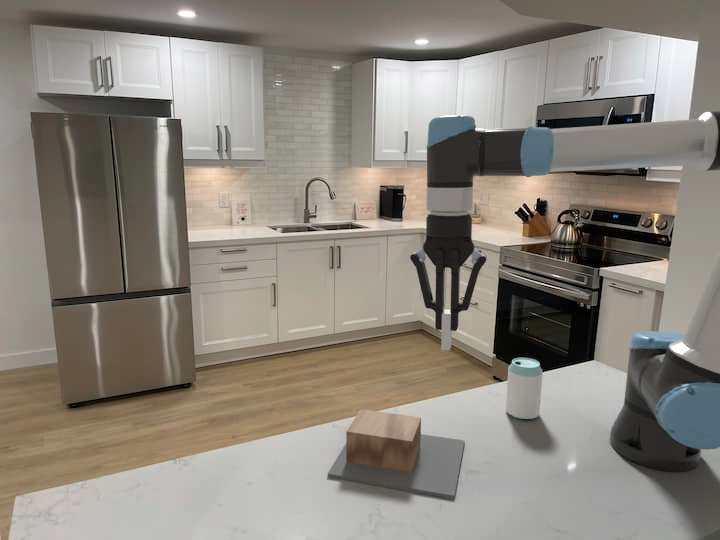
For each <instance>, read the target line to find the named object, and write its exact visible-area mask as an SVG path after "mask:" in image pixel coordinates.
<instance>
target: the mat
mask: <svg viewBox="0 0 720 540" xmlns="http://www.w3.org/2000/svg"><path fill="white" fill-rule="evenodd" d="M465 444H466V443H465V440H464V439H456V438H452V437H451V438H450V437H444V436H443V437H442V436H437V435H429V434H423V433H421V440H420V449H419V452H418V455H417V458H416V461H415V464H414V466H413V469H412V472H406V471H400V470H394V469H388V468H382V467H376V466H370V465H364V464H358V463H352V462H347V459H346V443H345V444H344V445H343V447H342V449H341V451H340V452H339V454H338V456H337V457H336V459H335V460H334V461H333V464H332V466H331V467H330V469H329V470H328V472H327V477H328V478H334V479H339V480H345V481H351V482H356V483H361V484H362V483H363V484H368V485H372V486H373V485H374V486H379V487H384V488H389V489H390V488H391V489H396V490H402V491H406V492H412V493H418V494H424V495H430V496H435V497H439V498H440V497H442V498H447V499H452V500H455V497H456V492H457V485H458V481H459V476H460V475H459V474H460V469H461V463H462V459H463V453H464V450H465V449H464V448H465Z"/></svg>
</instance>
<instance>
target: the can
mask: <svg viewBox="0 0 720 540" xmlns="http://www.w3.org/2000/svg"><path fill="white" fill-rule="evenodd" d="M543 373H544V372H543V369H542V367H541V364H540V361H538V360H536V359H535V358H534V359H533V358H529V357H516V358H514V359H512V360H511V363H510V365H509V366H508V368H507V384H506V400H505V401H506V402H505V411H506V412H507V413H508V414H509V415H510V416H511V415H512V416H511V417H513V418H515V417H516V418H515V419H517V418H519V419H518V420H521V419H530V420H533V419H535V418H537V417H539V415H540V412H541V411H540V410H541V401H542V399H541V396H542V386H543V384H542V383H543V375H544V374H543Z"/></svg>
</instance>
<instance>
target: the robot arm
mask: <svg viewBox="0 0 720 540" xmlns="http://www.w3.org/2000/svg"><path fill="white" fill-rule="evenodd" d="M427 130H428V132H427V145H426V211H428V212H429V213H428V214H427V215H426V219H425V222H426V223H425V226H426V227H425V231H426V232H425V233H426V234H425V235H426V236H425V241H424V243H423V245H422V248H420V249H419V250H417V251H413V253H412V254H411V255H410V256H409V257H410V258H409V259H410V260H411V262H412V264H413V265H414V266H415V268H416V272H417V277H418V282H419V285H420V291H421V294H422V295H421V296H422V300H423V303H424V307H425V308H426V309H427V310H428V309H431V310H433V312H435V327H434V328H435V330H437V331H441V335H440V336H441V337H440V338H441V339H440V341H441V344H440V345H441V347H440V350H441V351H451V347H452V337H453V336H452V335H453V334H452V333H453V332H456V331H457V330H458V327H459V314H460V313H461V312H464V311H465V312H466V311H468V310H469V308H470V304H471V301H472V297H473V294H474V291H475V288H476V283H477V280H478V276H479V274H480V270H481V269H482V267H483V266H484V265H485V263H486V262H487V259H488V258H487V257H488V256H487V255H486V253H481V252H479V250H477V249H475V245H474V242H473V240H472V236H473V234H472V230H473V216H472V215H471V213H470V212H471V211H472V210H473V197H474V195H473V194H474V177H526V178H531V177H537V176H538V177H540V176H542V177H543V176H546V175H548V174H549V173H552V172H553V173H557V172H574V171H599V170H602V171H603V170H619V169H638V168H639V169H640V168H659V167H660V168H663V167H683V166H694V167H696V169H698V170H699V171H701V172H706V171H707V172H709V171H720V110H718V111H706V112H704V113H702V114H701V115H700V116H699V117H698V118H694V119H679V120H664V121H651V122H649V121H648V122H637V123H635V122H633V123H623V124H622V123H620V124H609V125H608V124H607V125H593V126H592V125H591V126H579V127H575V126H574V127H562V128H561V127H560V128H550V127H540V126H539V127H536V126H527V127H525V126H524V127H504V128H503V127H501V128H500V127H499V128H481V127H479V128H478V127H477V125H476V120H475V118H474V117H473V116H470V115H443V116H436V117H433V118H432V119H431V120H430V121H429V123H428V128H427ZM426 256H427V257H428V259H429V261H431V263H432V264H433V265H434V267H435V300H434V297H433V293H432V292H433V291H432V288H431V285H430V279H429V275H428V271H427V267H426V263H425V261H426V258H427V257H426ZM469 257H472V258H471V263H472V264H473V265H472V268H471V272H470V275H469V278H468V279H469V280H468V282H467V285H466V290H465V293H464V296H463V300H462V301H461V302H460V282H461V281H460V280H461V279H460V277H461V275H460V274H461V272H460V271H461V267H462V266H464V264H465V263H466V261H467V260H468V259H469ZM446 268H448V269H450V309H446V308H445V309H444V307H445V275H446V274H445V272H446ZM708 275H709V276H708V278H707V280H706V282H705V285H704V287H703V290H702V292H701V295H700V297H699V300H698V303H697V304H696V307H695V310H694V312H693V315H692V317H691V320H690V323H689V325H688V327H687V329H686V332H685V334H682V333H677V332H676V333H675V332H668V331H654V330H653V331H651V330H650V331H647V330H646V331H639V332H636V333H635V334H634V335H633V336H632V338H631V341H630V346H629V347H628V350H629V352H628V353H629V355H628V363H627V372H626V373H627V374H626V381H625V389H624V390H625V391H624V399H623V401H624V402H623V405H622V408H621V409H620V411H619V413H618V415H617V417H616V418H615V420H614V422H613V424H612V426H611V429H610V434H609V435H610V436H609V443H610V445H611V446H612V448H613V449H614V450H615V452H617V454H619V455H621V456H622V457H624V458H626V459H628V460H630V461H631V462H633V463H636V464H639V465H641V466H644V467H647V468H651V469H653V470H660V471H667V472H684V471H691V470H693V469H695V468H697V467H698V466H699V464H700V461H701V453H702V450H717V449H718V448H720V249H719V250H718V253H717V256H716V257H715V260H714V263H713V265H712V267H711V270H710V272H709V274H708Z"/></svg>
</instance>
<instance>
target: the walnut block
mask: <svg viewBox="0 0 720 540" xmlns="http://www.w3.org/2000/svg"><path fill="white" fill-rule="evenodd" d="M421 429H422V417H421V416H415V415H405V414H398V413H393V412H384V411H376V410H371V409H361V408H360V409H359V411H358V412H357V414H356V415H355V417H354V419H353V420H352V421H351V423H350V425H349V426H348V427H347V430H346V433H345V434H346V435H345V436H346V437H345V438H346V443H345V444H346V459H347V462H352V463H358V464H364V465H370V466H376V467H382V468H388V469H394V470H400V471H406V472H412V469H413V466H414V464H415V461H416V458H417V455H418V452H419V449H420V440H421V434H422V430H421Z"/></svg>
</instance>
